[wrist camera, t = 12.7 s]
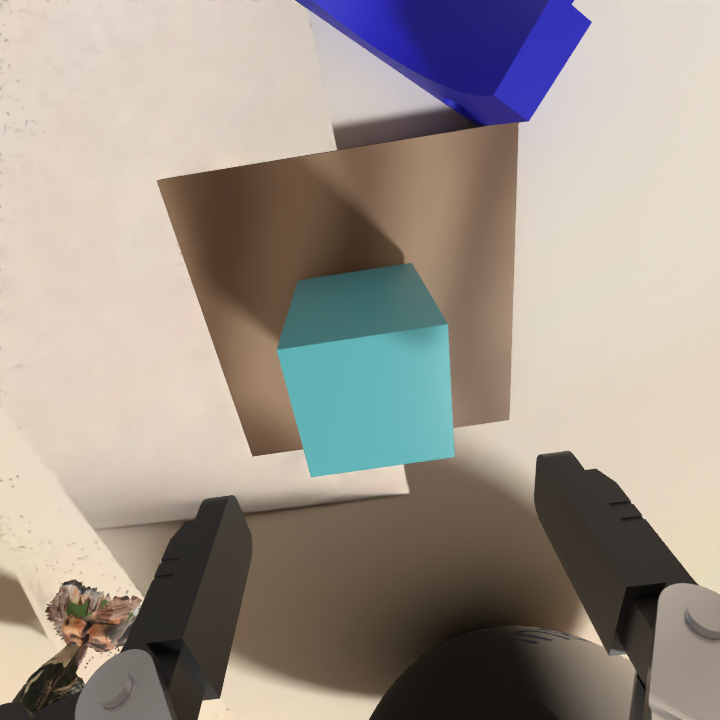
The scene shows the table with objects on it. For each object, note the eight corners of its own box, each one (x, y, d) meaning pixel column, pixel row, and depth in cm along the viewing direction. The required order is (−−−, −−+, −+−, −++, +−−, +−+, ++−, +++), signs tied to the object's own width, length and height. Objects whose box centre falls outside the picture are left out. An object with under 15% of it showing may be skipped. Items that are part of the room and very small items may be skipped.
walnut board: (508, 121, 19) (518, 120, 18) (502, 408, 26) (509, 419, 25) (166, 178, 19) (156, 180, 18) (256, 443, 27) (252, 456, 26)
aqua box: (411, 262, 20) (447, 324, 13) (420, 363, 23) (454, 457, 16) (297, 280, 20) (276, 350, 13) (319, 378, 23) (311, 477, 16)
